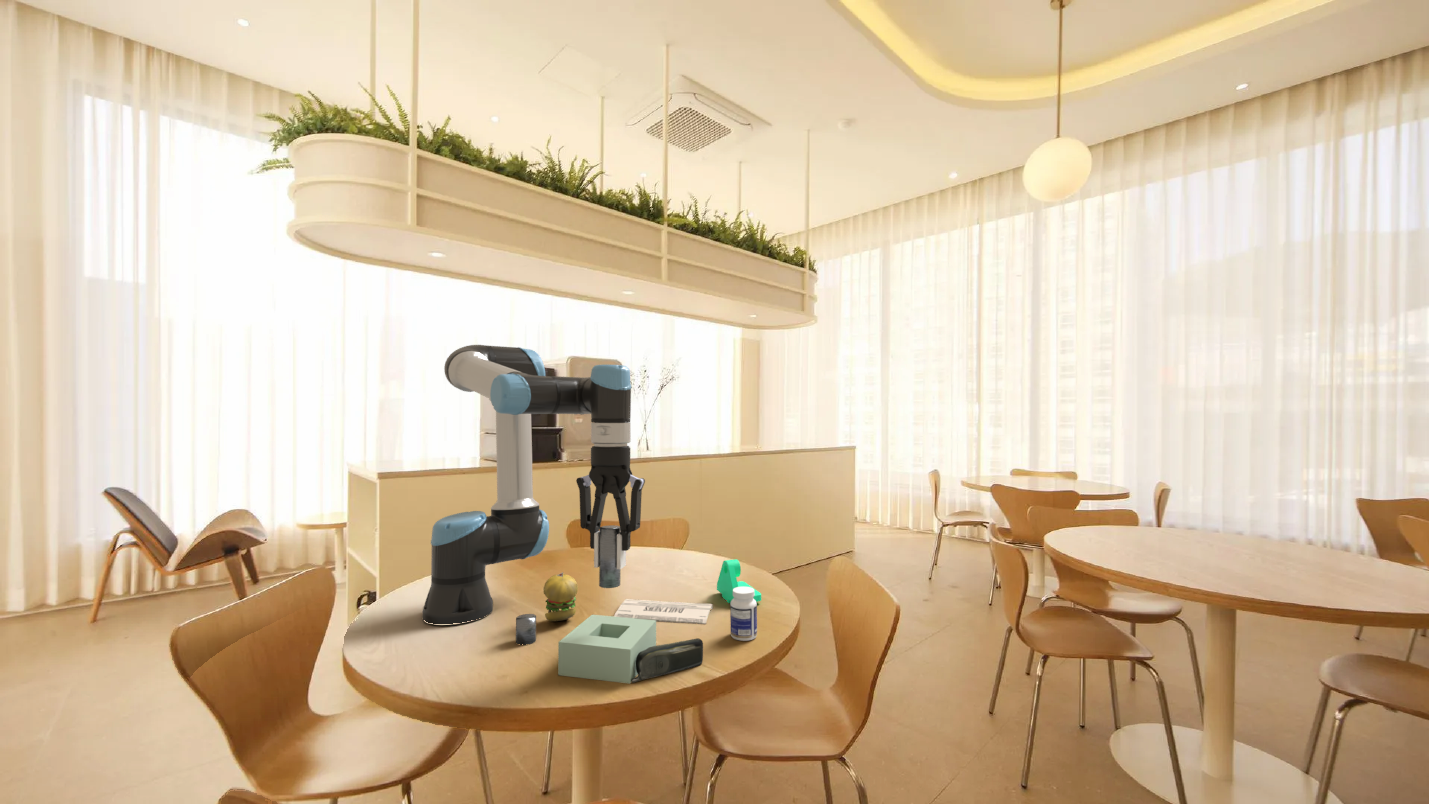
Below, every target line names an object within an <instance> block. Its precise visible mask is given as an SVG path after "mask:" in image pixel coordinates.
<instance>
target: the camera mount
mask: <svg viewBox="0 0 1429 804" xmlns="http://www.w3.org/2000/svg"><path fill="white" fill-rule="evenodd" d="M741 572H742V569H741V563H740V561H739V559H726V560H723V561H722V565H721V568H720V572H719V576H718V579H717V582H716V590H717V592H719V593H720V594H721V598H722V597H723V598H724V599H725V600H727V601H726V603H728V604H729V603H730V604H731V601H732V599H734V597H733V589H734V588H736V587H751V588H753V589H754V593H755V596H754V597H753V599H755V601H756V603H757V602H761V601H762V593H761V592H760V591H758V590H757V589H755V588H754V586H752V585H750V584H748V583H747V582H746V581H741V580H740V581H738V578H739V577H740V576H741ZM723 598H722V599H723ZM724 599H723V600H724ZM725 600H724V601H725Z"/></svg>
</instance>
